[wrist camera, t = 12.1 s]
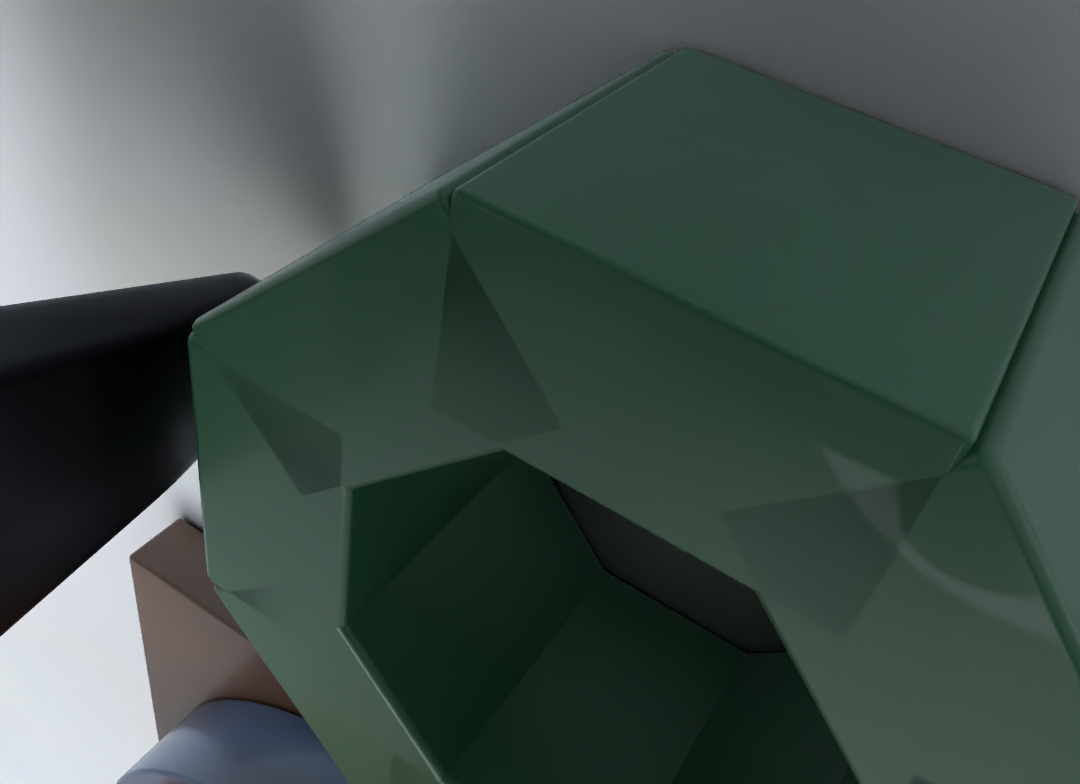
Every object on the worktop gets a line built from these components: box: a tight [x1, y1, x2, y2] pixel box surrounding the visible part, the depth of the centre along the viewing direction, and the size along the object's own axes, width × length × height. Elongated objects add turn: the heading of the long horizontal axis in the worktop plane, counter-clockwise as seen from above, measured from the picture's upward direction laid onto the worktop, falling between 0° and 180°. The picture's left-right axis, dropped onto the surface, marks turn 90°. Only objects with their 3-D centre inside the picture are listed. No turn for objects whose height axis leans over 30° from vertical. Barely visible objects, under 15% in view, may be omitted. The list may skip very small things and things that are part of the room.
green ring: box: [188, 47, 1080, 784], centre depth 8 cm, size 7×7×3 cm
